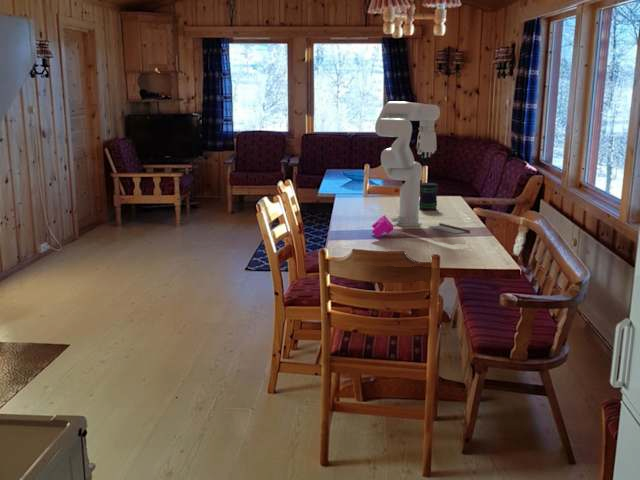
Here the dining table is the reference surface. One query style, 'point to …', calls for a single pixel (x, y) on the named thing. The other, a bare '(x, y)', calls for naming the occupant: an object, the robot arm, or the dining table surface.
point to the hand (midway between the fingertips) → (425, 165)
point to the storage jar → (428, 196)
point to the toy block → (382, 226)
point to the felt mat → (447, 229)
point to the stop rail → (454, 227)
